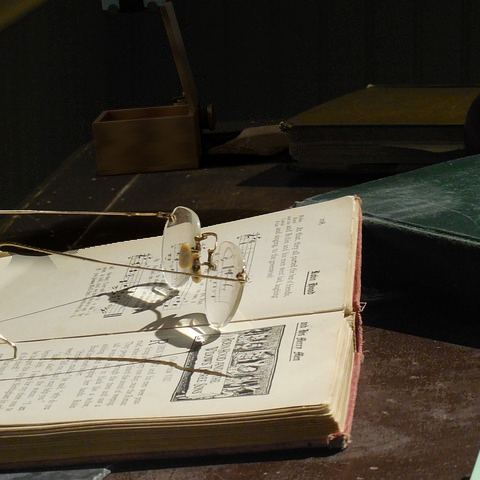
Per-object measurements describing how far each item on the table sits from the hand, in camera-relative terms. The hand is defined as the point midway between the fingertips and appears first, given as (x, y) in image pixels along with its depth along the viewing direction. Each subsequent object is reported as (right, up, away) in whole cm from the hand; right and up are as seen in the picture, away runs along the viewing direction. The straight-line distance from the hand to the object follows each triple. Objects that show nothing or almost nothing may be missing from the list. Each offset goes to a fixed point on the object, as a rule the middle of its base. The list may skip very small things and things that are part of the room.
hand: (134, 9), depth 129 cm
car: (0, 0, 0) cm, 0 cm away
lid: (+4, -4, +12) cm, 14 cm away
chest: (0, -20, +17) cm, 26 cm away
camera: (+4, -15, +31) cm, 35 cm away
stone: (+15, -17, +21) cm, 31 cm away
